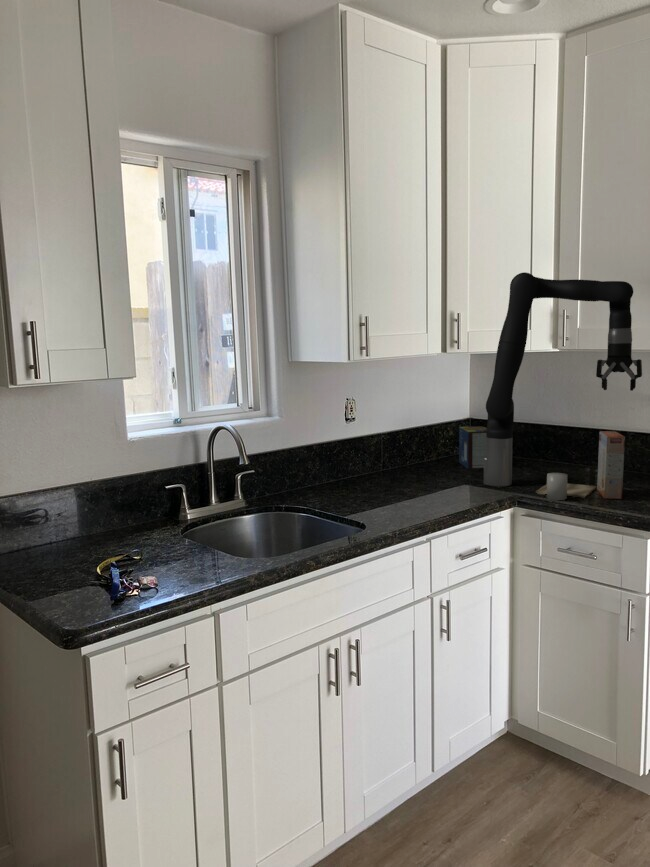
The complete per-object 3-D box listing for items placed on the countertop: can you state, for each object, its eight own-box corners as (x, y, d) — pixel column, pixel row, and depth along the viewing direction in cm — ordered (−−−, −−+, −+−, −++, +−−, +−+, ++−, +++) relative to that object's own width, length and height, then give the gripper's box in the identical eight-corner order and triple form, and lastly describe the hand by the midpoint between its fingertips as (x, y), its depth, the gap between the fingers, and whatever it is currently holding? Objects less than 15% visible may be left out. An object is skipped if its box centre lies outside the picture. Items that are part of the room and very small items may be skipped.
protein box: (482, 462, 308) (483, 426, 305) (492, 468, 292) (493, 430, 290) (458, 462, 307) (458, 426, 305) (467, 469, 292) (467, 431, 290)
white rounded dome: (544, 499, 236) (544, 475, 235) (549, 495, 242) (549, 472, 241) (564, 501, 233) (564, 477, 232) (568, 497, 238) (569, 473, 237)
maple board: (535, 493, 245) (535, 491, 245) (549, 484, 260) (549, 481, 260) (584, 498, 236) (584, 496, 236) (596, 488, 252) (596, 486, 251)
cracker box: (623, 500, 234) (625, 436, 231) (603, 499, 235) (605, 436, 232) (615, 490, 247) (617, 430, 244) (596, 490, 248) (598, 430, 246)
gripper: (595, 342, 243) (594, 390, 245) (640, 341, 236) (639, 391, 238) (599, 342, 250) (598, 389, 252) (644, 341, 242) (642, 389, 244)
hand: (618, 390), depth 245 cm, fingers open, 8 cm apart
